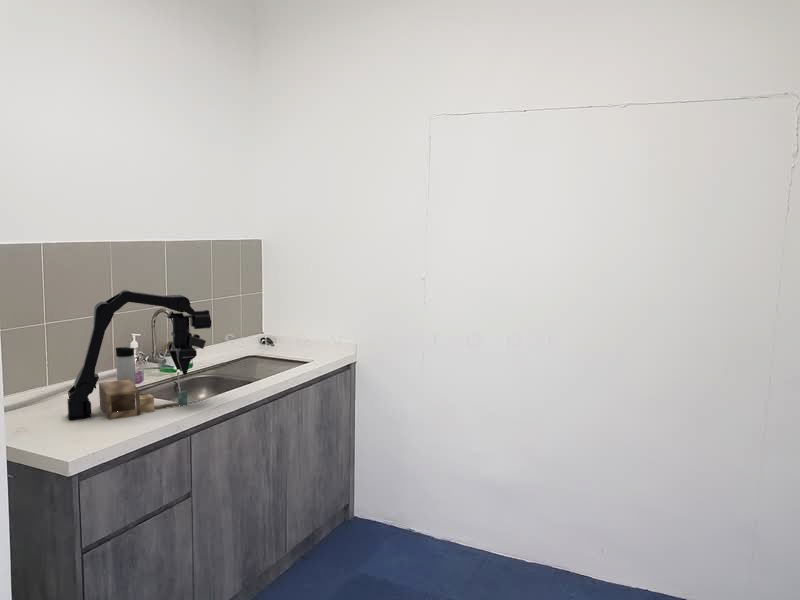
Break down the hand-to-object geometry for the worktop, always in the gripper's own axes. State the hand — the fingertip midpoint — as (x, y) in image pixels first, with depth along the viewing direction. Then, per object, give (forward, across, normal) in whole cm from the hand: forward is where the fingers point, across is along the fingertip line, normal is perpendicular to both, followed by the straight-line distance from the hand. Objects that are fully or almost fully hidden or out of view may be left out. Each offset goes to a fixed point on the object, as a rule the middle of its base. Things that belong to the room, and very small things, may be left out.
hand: (181, 372), depth 230 cm
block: (+12, -2, +7) cm, 14 cm away
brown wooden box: (+12, +2, +21) cm, 24 cm away
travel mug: (+12, +17, +16) cm, 27 cm away
